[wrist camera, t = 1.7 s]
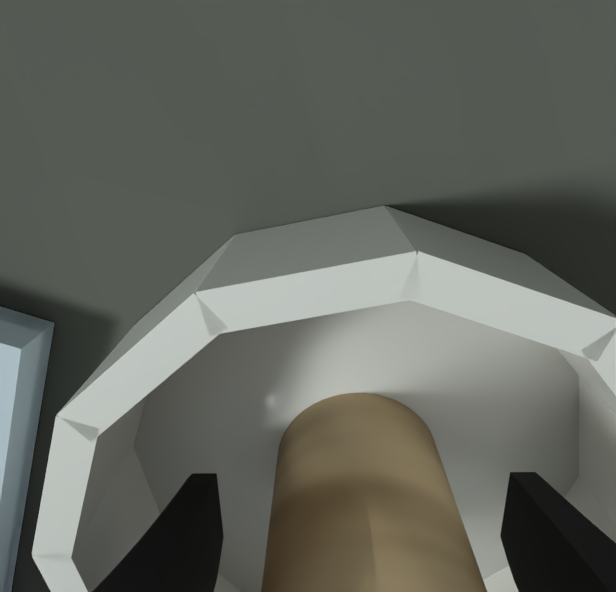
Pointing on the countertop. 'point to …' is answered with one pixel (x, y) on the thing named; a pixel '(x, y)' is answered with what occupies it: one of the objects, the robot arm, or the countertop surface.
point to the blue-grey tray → (18, 422)
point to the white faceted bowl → (334, 387)
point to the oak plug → (364, 505)
